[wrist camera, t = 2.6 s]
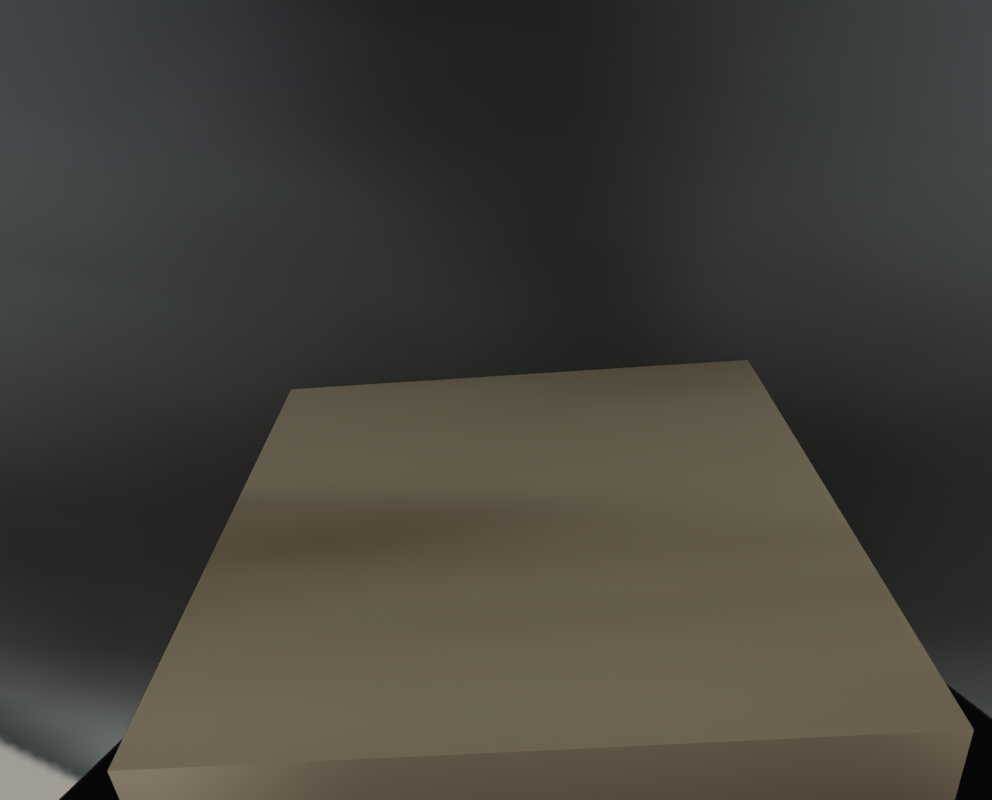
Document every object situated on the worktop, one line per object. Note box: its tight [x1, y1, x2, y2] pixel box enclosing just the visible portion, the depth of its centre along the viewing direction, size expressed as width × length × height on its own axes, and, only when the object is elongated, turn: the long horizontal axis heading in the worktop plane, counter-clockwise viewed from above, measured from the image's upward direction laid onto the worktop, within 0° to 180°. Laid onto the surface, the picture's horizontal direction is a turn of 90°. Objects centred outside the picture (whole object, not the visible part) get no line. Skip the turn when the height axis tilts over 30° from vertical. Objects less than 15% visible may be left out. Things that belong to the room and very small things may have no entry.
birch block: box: [107, 360, 974, 800], centre depth 8 cm, size 5×5×5 cm
